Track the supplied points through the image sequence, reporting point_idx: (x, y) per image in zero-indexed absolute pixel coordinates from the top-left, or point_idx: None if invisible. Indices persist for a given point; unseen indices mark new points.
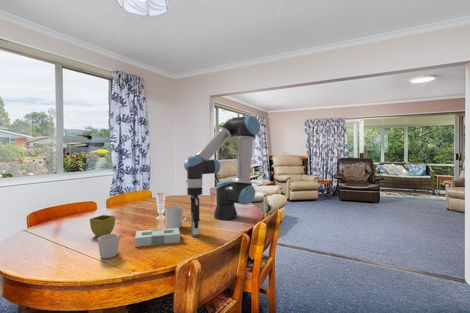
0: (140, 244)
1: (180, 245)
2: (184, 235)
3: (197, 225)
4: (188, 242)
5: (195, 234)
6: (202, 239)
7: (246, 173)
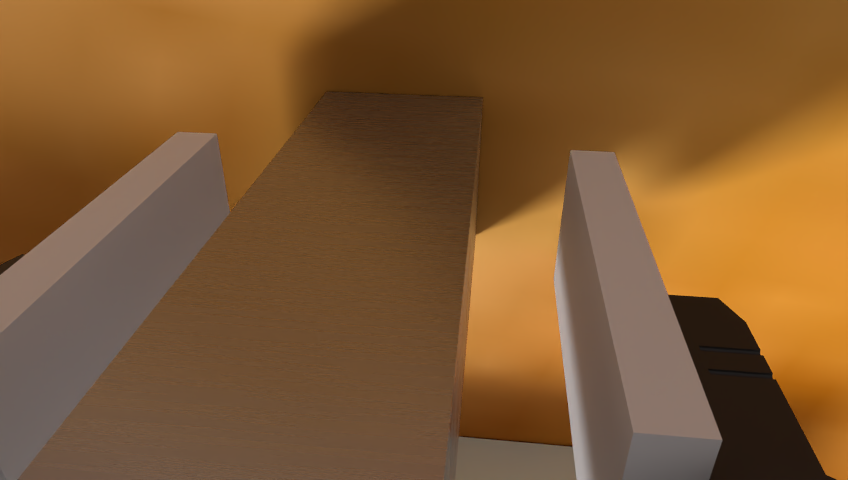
0: None
1: (825, 472)
2: None
3: (768, 382)
4: None
5: (476, 192)
6: (744, 46)
7: None
